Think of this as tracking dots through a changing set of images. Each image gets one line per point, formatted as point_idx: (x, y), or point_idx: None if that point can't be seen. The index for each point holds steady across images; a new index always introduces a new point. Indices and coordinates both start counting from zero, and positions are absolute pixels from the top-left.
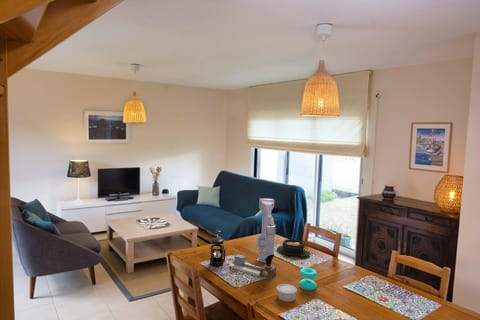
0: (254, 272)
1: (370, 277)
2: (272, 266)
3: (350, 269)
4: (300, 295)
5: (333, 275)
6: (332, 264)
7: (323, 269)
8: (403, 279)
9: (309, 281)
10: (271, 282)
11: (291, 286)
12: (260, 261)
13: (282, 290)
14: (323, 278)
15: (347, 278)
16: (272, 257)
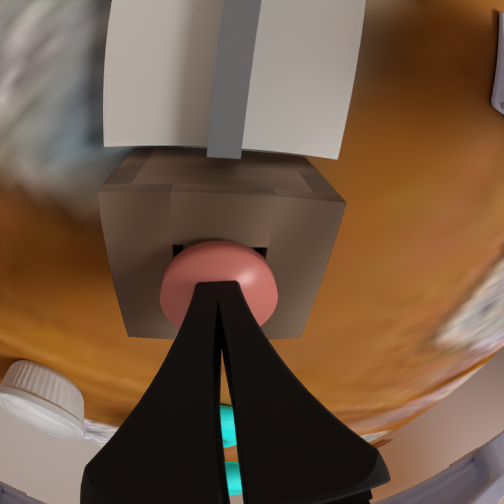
0: (110, 73)
1: (375, 436)
2: (289, 306)
3: (421, 406)
4: (112, 411)
5: (371, 413)
6: (459, 373)
7: (421, 382)
8: (375, 447)
9: (223, 439)
10: (98, 298)
11: (70, 431)
12: (498, 51)
13: (11, 409)
14: (334, 414)
15: (356, 429)
16: (228, 492)
